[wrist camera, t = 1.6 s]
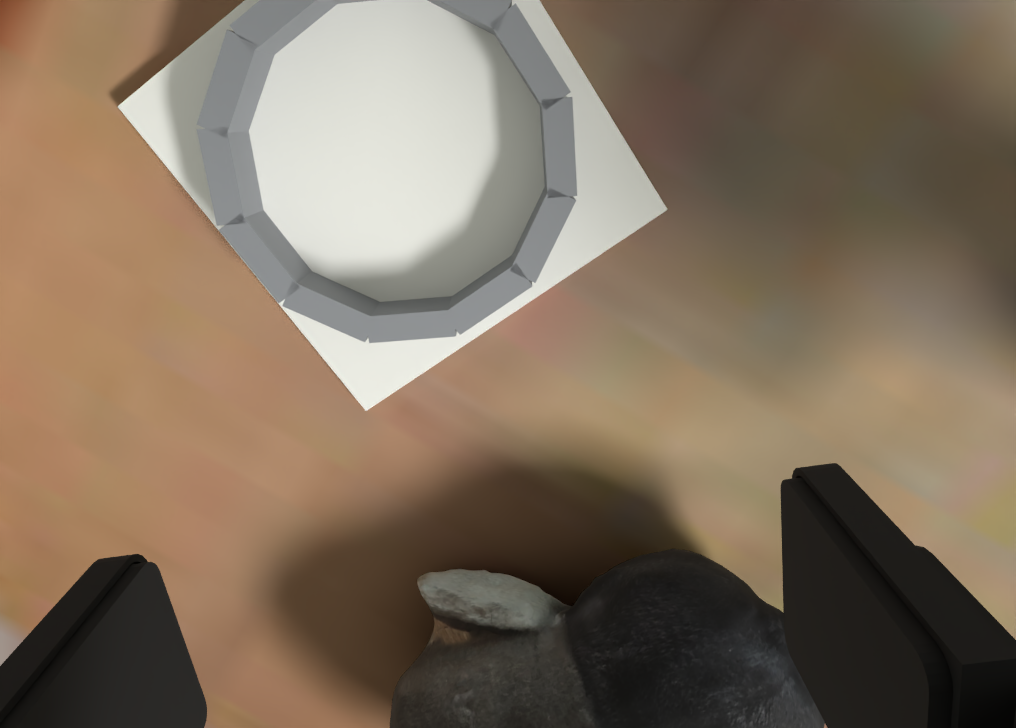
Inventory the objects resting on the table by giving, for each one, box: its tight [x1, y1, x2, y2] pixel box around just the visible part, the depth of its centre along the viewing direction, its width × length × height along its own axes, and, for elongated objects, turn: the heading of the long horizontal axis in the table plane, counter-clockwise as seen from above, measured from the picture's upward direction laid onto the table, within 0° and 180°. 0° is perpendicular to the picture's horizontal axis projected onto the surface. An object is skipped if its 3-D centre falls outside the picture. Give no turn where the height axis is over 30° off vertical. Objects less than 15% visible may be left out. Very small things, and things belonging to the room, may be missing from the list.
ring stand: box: [118, 0, 668, 411], centre depth 31 cm, size 17×17×3 cm
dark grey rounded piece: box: [390, 549, 825, 728], centre depth 36 cm, size 20×21×13 cm
